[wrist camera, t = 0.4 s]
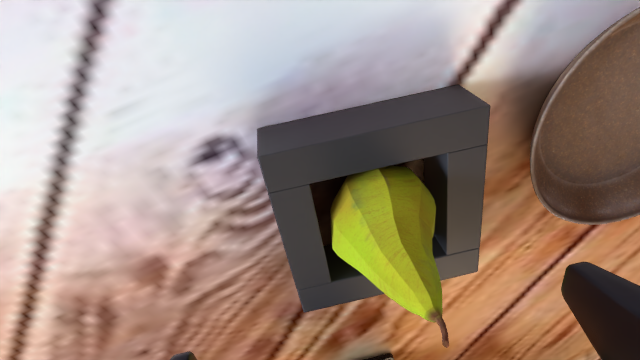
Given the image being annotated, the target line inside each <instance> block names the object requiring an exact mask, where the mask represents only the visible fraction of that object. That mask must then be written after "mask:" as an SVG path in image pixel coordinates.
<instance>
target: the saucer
mask: <svg viewBox="0 0 640 360" xmlns="http://www.w3.org/2000/svg"><path fill="white" fill-rule="evenodd" d="M530 172H531V179H532V184H533V187H534V190H535V193H536V195H537V197H538V199H539V200H540V202H541V203H542V204H543V206H544V207H545V208H546V209H547V210H548V211H549V212H551V213H552V214H554V215H555V216H557V217H559V218H561V219H563V220H566V221H569V222H573V223H578V224H589V225H593V224H607V223H612V222H617V221H621V220H625V219H629V218H632V217H635V216H638V215H640V8H638V9H636V10H634V11H633V12H631V13H630V14H628V15H626V16H625V17H623V18H622V19H620V20H619V21H617V22H616V23H615V24H613V25H612V26H610V27H609V28H608V29H607V30H605V31H604V32H603V33H601V34H600V35H599V36H598V37H597V38H595V39H594V40H593V41H592V42H591V43H590V44H589V45H587V46H586V47H585V48H584V49H583V50H582V51H581V52H580V53H579V54H578V55H577V56H576V57H575V59H574V60H573V61H572V62H571V63H570V64H569V65H568V67H567V68H566V69H565V70H564V72H563V73H562V74H561V75H560V77H559V78H558V80H557V81H556V83H555V84H554V86H553V87H552V89H551V90H550V92H549V94H548V96H547V97H546V99H545V101H544V103H543V106H542V108H541V110H540V113H539V115H538V118H537V121H536V124H535V127H534V131H533V135H532V140H531V147H530Z"/></svg>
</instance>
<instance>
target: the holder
mask: <svg viewBox="0 0 640 360" xmlns="http://www.w3.org/2000/svg"><path fill="white" fill-rule="evenodd" d="M489 115H490V105H489V104H487V103H486V102H484V101H483V100H481V99H480V98H478V97H477V96H475V95H474V94H472V93H471V92H469V91H468V90H466V89H465V88H463V87H462V86H460V85H454V86H450V87H445V88H441V89H436V90H432V91H427V92H423V93H418V94H413V95H409V96H404V97H400V98H395V99H391V100H386V101H382V102H377V103H372V104H368V105H363V106H359V107H354V108H350V109H345V110H341V111H336V112H331V113H327V114H322V115H318V116H313V117H309V118H304V119H300V120H295V121H290V122H286V123H281V124H277V125H272V126H268V127H263V128H259V129H257V158H258V161H259V164H260V168H261V171H262V174H263V178H264V181H265V184H266V188H267V191H268V195H269V198H270V201H271V205H272V208H273V211H274V215H275V218H276V221H277V225H278V228H279V231H280V235H281V238H282V241H283V245H284V248H285V251H286V255H287V258H288V261H289V265H290V268H291V271H292V275H293V278H294V282H295V285H296V288H297V291H298V295H299V298H300V301H301V305H302V308H303V311H304V312H309V311H313V310H317V309H322V308H326V307H330V306H334V305H339V304H343V303H347V302H351V301H356V300H360V299H364V298H368V297H373V296H377V295H381V294H385V293H383V292H382V291H381V290H380V289H378V288H377V287H376V286H375V285H374V284H373V283H372V282H371V281H370V280H369V279H367V278H366V277H365V276H364V275H363V274H362V273H361V272H359V271H358V270H357V269H355V268H354V267H352V266H351V265H349V264H348V263H347V262H345V261H344V260H343V259H341V258H340V257H339V256H337V254H336V253H335V251H334V250H333V248H332V244H330V245H325V246H323V242H322V237H321V233H320V228H319V224H318V219H317V215H316V210H315V206H314V201H313V197H312V192H311V188H310V184H311V183H316V182H320V181H324V180H329V179H333V178H338V177H342V176H347V175H351V174H356V173H360V172H364V171H369V170H373V169H378V168H382V167H387V166H391V165H395V164H400V163H404V162H409V161H413V160H418V159H422V158H424V179H425V186H426V187H427V188H428V190H429V191H430V193H431V195H432V196H433V198H434V201H435V205H436V214H435V227H434V235H433V238H432V252H433V256H434V260H435V263H436V266H437V270H438V273H439V276H440V280H445V279H449V278H453V277H457V276H461V275H466V274H470V273H474V272H477V271H478V261H479V247H480V237H481V224H482V210H483V197H484V183H485V170H486V156H487V142H488V129H489Z"/></svg>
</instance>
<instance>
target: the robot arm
mask: <svg viewBox="0 0 640 360" xmlns="http://www.w3.org/2000/svg"><path fill="white" fill-rule="evenodd" d="M561 291H562V295H563V297H564V299H565V301H566V303H567V304H568V306H569V308H570V309H571V311H572V312H573V314H574V316H575V317H576V319H577V321H578V322H579V324H580V325H581V327H582V329H583V330H584V332H585V334H586V335H587V337H588V339H589V340H590V342H591V343H592V345H593V347H594V348H595V350H596V351H597V353H598V354H599V356H600V358H601V359H602V360H640V286H639V285H637V284H634V283H632V282H630V281H628V280H626V279H624V278H621V277H619V276H617V275H615V274H613V273H611V272H609V271H606V270H604V269H602V268H600V267H598V266H596V265H593V264H591V263H589V262H579V263H575V264H571V265H569V266H568V267H567V268H566V271H565V275H564V279H563V283H562V287H561ZM170 360H197V359H196V357H195V356H194V354H193V353H192V352H190V351H189V352H184V353H180V354H176V355H174V356H173V357H172V358H171V359H170ZM364 360H394V358H393V355H392V354H385V355H381V356H376V357H372V358H368V359H364Z"/></svg>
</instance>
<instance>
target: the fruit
mask: <svg viewBox="0 0 640 360" xmlns="http://www.w3.org/2000/svg"><path fill="white" fill-rule="evenodd" d="M435 214H436V205H435V201H434V198H433V196H432V195H431V193H430V191H429V190H428V188H427V187H426V186H425V185H424V184H423V183H422V182H421V181H420V179H419V178H418V177H417V176H416V175H415V174H414V173H413V171H412V170H410V169H409V168H408V167H399V166H387V167H382V168H378V169H373V170H369V171H364V172H360V173H356V174H351V175H348V177H347V178H346V180H345V181H344V183H343V185H342V186H341V188H340V190H339V192H338V193H337V195H336V197H335V199H334V200H333V202H332V205H331V210H330V215H331V240H332V248H333V250H334V251H335V253H336V254H337V256H339V257H340V258H341V259H343V260H344V261H345V262H347V263H348V264H349V265H351V266H352V267H354V268H355V269H357V270H358V271H359V272H361V273H362V274H363V275H364V276H365V277H366V278H367V279H369V280H370V281H371V282H372V283H373V284H374V285H375V286H376V287H377V288H378V289H380V290H381V291H382V292H383V293H385V294H386V295H387V296H389V297H390V298H391V299H392V300H394V301H395V302H396V303H398V304H399V305H400V306H402V307H404V308H405V309H407V310H408V311H410V312H412V313H414V314H417V315H419V316H421V317H423V318H424V319H426V320H428V321H431V322H437V324H438V325H439V326H440V329H441V333H442V342H443V346H444V347H446V348H447V347H449V341H448V333H447V329H446V325H445V322H444V320H443V319H442V288H441V282H440V276H439V273H438V270H437V266H436V263H435V260H434V256H433V252H432V238H433V235H434V227H435Z"/></svg>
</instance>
